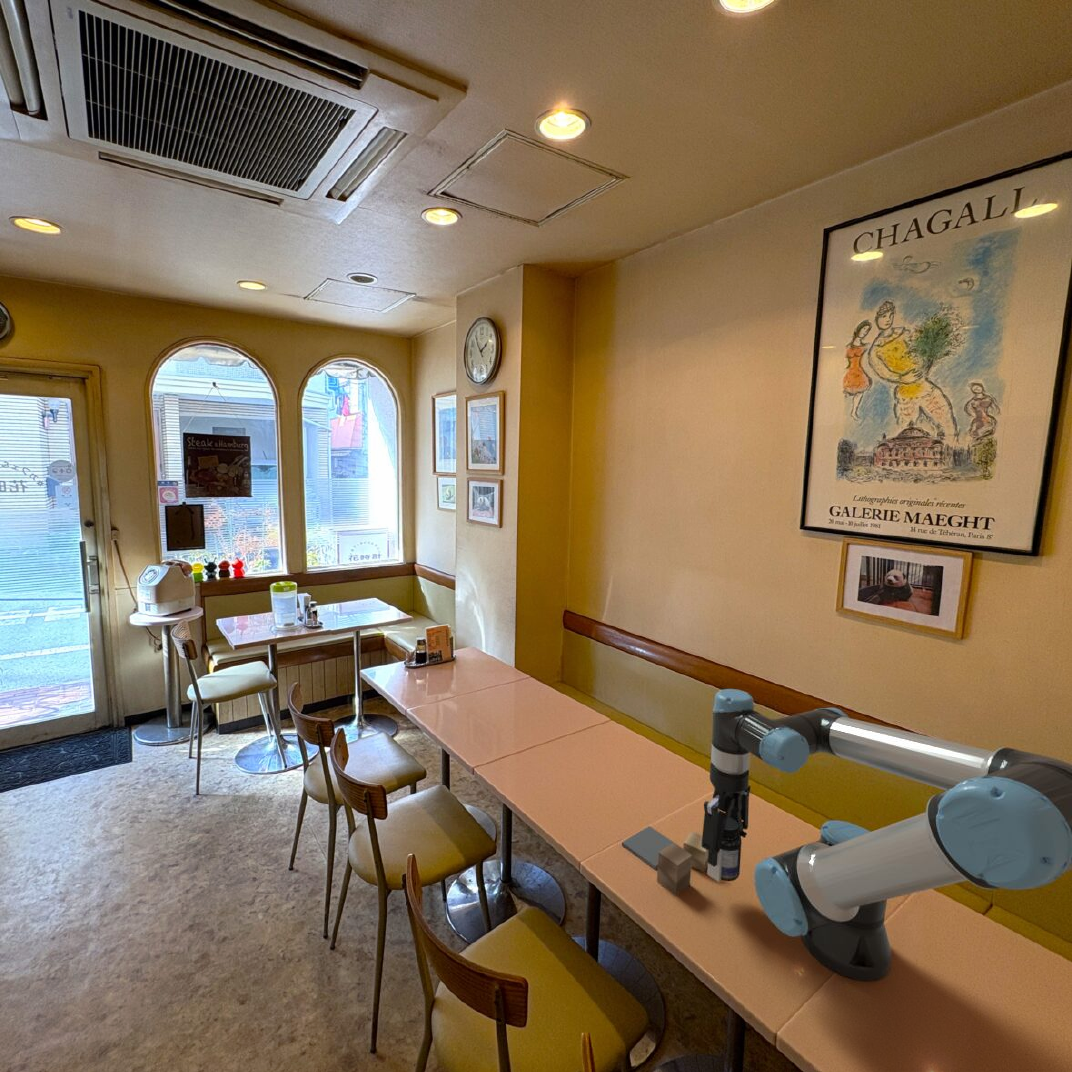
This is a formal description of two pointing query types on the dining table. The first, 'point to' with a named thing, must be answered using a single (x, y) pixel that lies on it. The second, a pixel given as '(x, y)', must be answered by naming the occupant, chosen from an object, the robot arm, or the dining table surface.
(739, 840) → the pill bottle
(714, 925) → the dining table surface
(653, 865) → the slate coaster
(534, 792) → the dining table surface
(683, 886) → the walnut block
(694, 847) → the oak block
